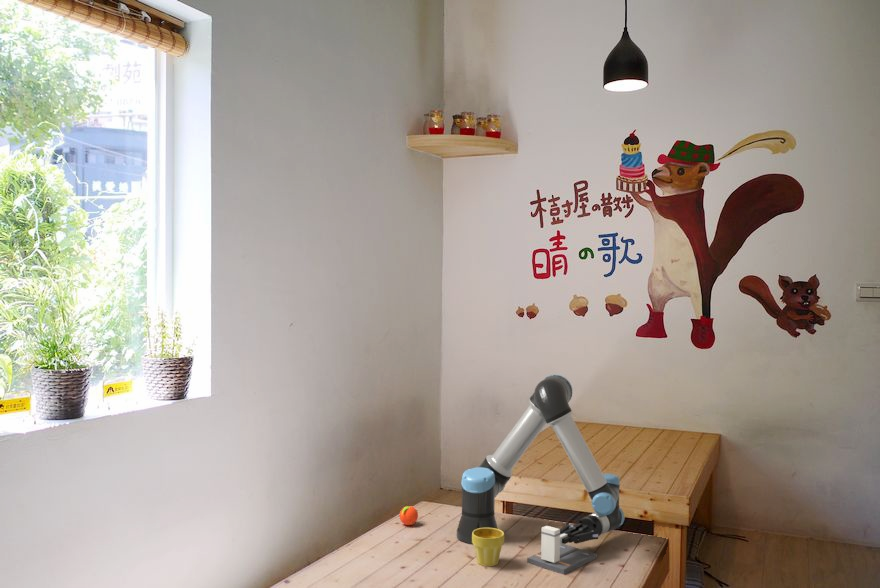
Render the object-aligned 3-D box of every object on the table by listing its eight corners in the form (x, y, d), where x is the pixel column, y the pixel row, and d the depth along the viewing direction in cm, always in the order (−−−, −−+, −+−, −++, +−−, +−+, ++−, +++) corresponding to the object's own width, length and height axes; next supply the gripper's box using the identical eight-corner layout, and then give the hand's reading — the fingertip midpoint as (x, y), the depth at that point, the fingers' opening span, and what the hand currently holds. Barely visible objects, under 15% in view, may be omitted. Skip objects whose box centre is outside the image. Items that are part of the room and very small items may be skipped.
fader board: (527, 562, 240) (527, 557, 240) (560, 547, 254) (560, 542, 254) (563, 574, 230) (563, 569, 230) (596, 558, 244) (596, 553, 244)
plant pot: (502, 570, 233) (502, 539, 233) (469, 567, 236) (469, 536, 235) (505, 558, 244) (505, 528, 244) (474, 555, 246) (474, 526, 246)
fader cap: (541, 558, 238) (541, 527, 238) (546, 556, 240) (546, 525, 240) (554, 563, 234) (554, 531, 234) (559, 560, 237) (560, 529, 236)
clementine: (409, 529, 271) (409, 510, 271) (393, 526, 275) (394, 507, 275) (421, 524, 278) (421, 505, 278) (406, 520, 282) (406, 502, 282)
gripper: (610, 541, 251) (571, 559, 234) (577, 532, 260) (537, 549, 243) (610, 519, 251) (571, 536, 234) (577, 510, 260) (537, 526, 243)
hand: (554, 542), depth 238 cm, fingers closed
